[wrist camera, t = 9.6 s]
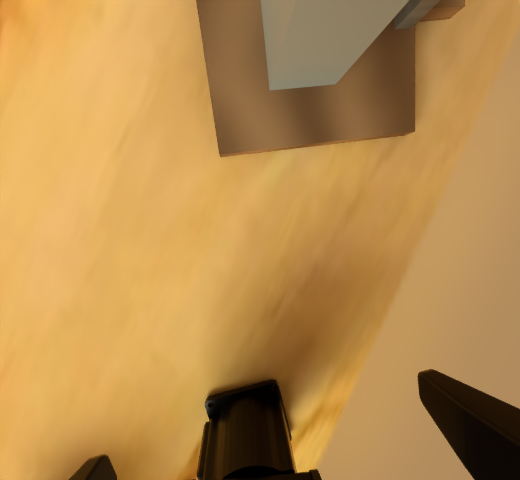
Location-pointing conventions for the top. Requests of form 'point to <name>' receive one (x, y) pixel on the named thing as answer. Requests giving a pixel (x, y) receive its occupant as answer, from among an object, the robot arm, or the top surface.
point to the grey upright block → (320, 37)
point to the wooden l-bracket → (308, 98)
